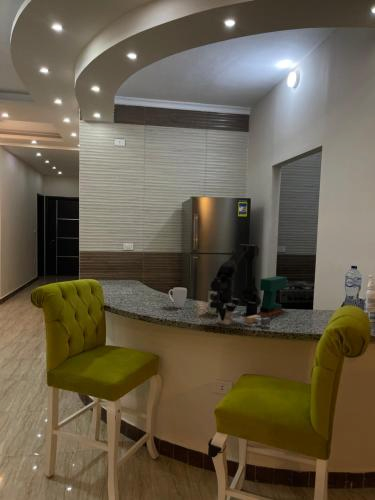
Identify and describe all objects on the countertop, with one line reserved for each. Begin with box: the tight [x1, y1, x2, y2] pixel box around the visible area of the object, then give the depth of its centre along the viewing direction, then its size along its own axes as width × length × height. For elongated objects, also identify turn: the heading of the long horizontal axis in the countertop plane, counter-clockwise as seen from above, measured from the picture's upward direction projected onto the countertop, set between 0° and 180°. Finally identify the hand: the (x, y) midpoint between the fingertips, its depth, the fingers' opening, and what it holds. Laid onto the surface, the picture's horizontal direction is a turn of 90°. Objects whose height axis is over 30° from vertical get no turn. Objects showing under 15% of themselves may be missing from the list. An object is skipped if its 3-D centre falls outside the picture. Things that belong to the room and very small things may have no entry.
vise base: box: [232, 310, 262, 328], centre depth 191 cm, size 10×20×4 cm, turn 44°
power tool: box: [258, 275, 289, 316], centre depth 222 cm, size 32×7×20 cm, turn 141°
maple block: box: [217, 310, 233, 325], centre depth 187 cm, size 4×6×6 cm, turn 44°
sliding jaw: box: [244, 314, 271, 326], centre depth 184 cm, size 9×10×3 cm
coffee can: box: [207, 286, 226, 316], centre depth 209 cm, size 10×10×14 cm
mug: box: [168, 286, 188, 309], centre depth 222 cm, size 12×8×11 cm
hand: (225, 319), depth 187 cm, fingers open, 4 cm apart
